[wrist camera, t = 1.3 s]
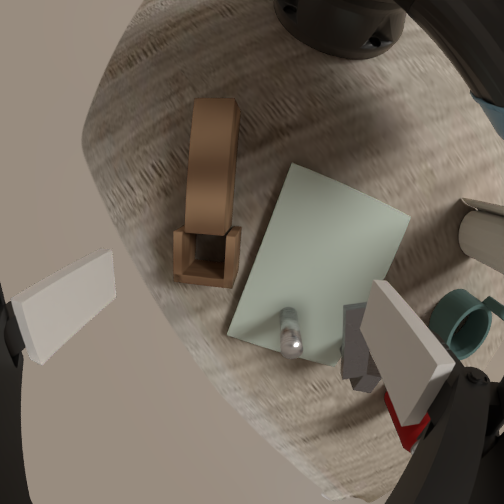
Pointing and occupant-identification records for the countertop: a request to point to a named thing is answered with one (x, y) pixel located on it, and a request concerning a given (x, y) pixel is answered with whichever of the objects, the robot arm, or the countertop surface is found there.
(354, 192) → the base board
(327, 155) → the countertop surface
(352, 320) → the keeper
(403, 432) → the beverage can
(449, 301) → the teal hollow cylinder
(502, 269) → the paper towel roll
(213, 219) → the link
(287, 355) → the cylinder
